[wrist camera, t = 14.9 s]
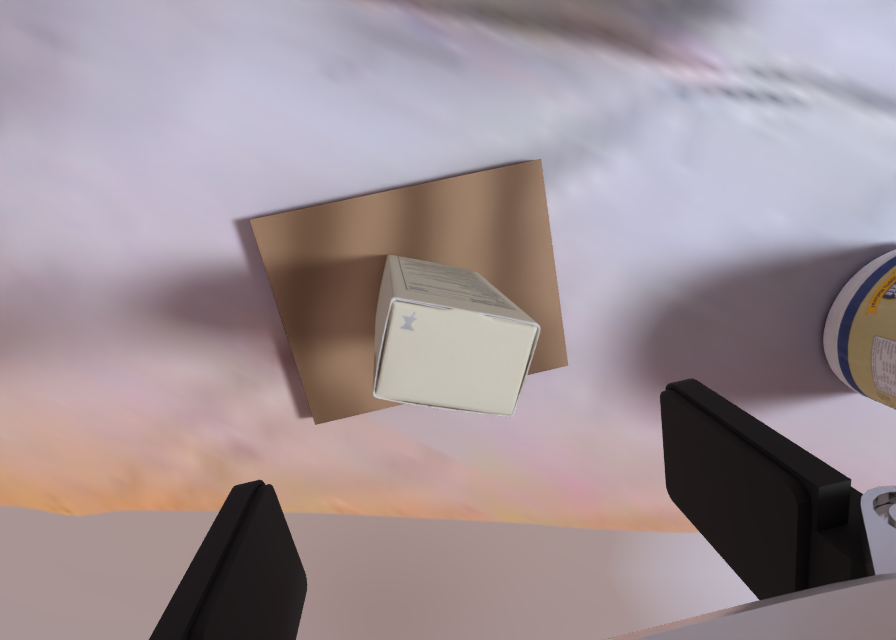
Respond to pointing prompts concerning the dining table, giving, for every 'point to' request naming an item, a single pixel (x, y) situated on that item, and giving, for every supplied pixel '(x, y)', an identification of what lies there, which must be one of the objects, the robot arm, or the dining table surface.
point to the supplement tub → (866, 331)
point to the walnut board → (413, 236)
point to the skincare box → (449, 340)
